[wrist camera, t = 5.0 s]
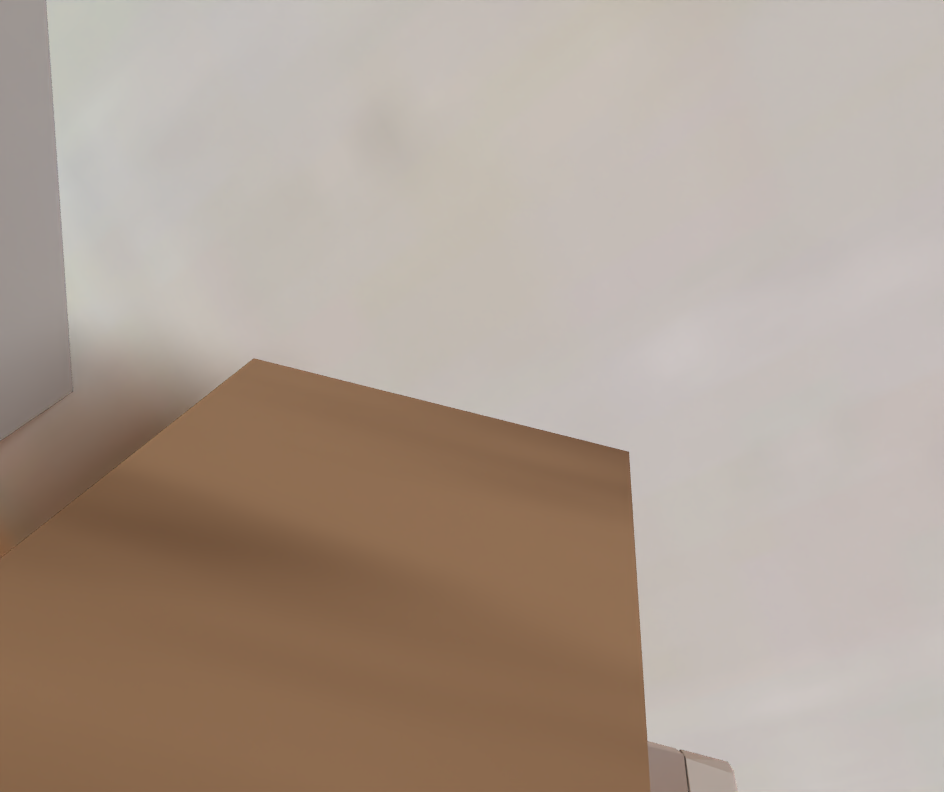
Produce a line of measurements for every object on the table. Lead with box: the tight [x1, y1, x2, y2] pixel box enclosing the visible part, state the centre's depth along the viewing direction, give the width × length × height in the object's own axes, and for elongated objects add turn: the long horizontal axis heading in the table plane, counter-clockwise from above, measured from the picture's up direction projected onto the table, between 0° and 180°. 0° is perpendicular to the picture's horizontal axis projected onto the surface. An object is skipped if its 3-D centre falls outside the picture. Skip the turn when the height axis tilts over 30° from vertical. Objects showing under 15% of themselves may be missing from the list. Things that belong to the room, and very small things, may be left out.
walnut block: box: [0, 359, 651, 792], centre depth 8 cm, size 5×5×7 cm
